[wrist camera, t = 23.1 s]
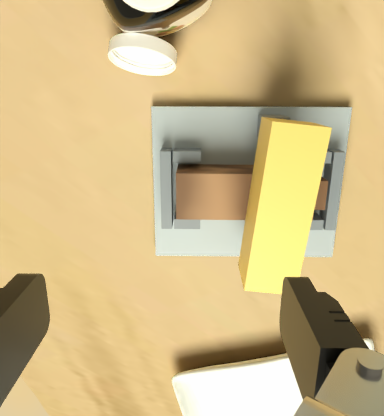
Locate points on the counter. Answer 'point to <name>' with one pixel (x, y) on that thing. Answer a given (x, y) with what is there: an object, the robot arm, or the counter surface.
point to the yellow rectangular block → (281, 201)
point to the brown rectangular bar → (220, 191)
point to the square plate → (241, 388)
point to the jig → (233, 155)
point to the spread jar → (149, 32)
